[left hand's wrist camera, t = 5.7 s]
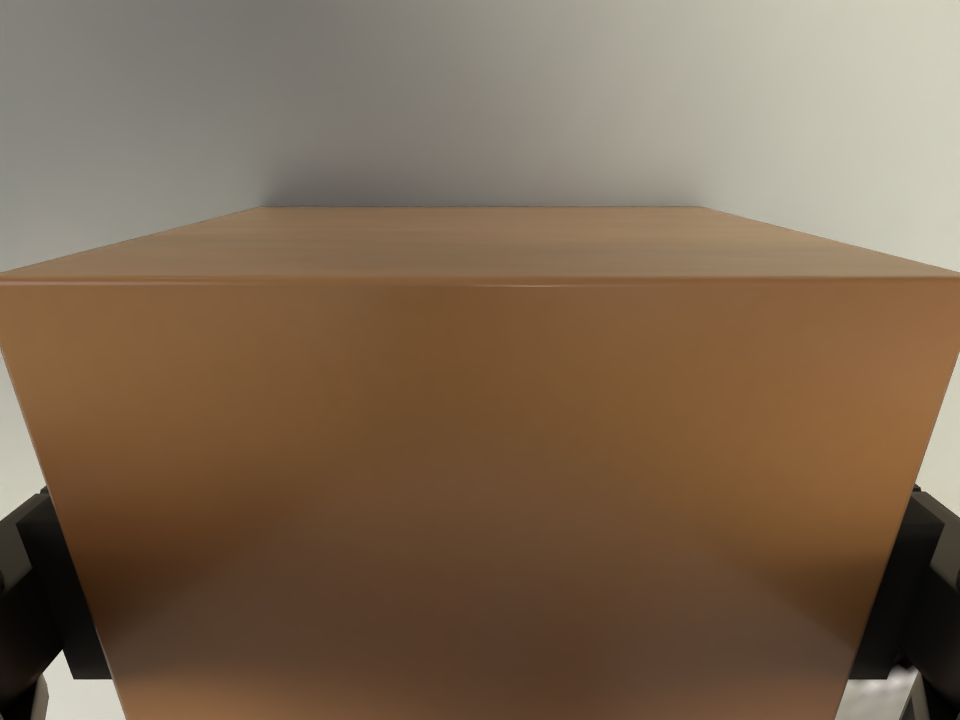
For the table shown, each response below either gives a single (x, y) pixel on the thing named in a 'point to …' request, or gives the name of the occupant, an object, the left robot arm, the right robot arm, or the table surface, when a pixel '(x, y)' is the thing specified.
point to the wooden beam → (480, 458)
